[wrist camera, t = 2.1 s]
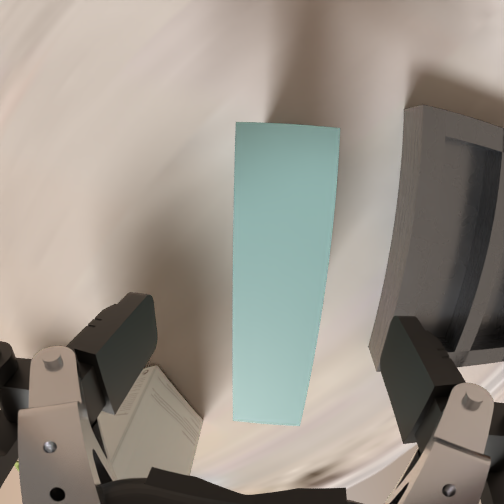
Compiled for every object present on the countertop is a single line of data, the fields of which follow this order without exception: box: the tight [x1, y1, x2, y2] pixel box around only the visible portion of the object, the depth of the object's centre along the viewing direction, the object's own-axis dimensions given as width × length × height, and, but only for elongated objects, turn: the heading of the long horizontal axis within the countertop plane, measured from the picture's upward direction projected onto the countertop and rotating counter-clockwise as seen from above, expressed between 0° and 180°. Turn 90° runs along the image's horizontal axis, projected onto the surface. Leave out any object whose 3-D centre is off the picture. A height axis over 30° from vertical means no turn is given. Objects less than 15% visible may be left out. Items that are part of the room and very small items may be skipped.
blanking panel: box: [233, 122, 340, 426], centre depth 15 cm, size 12×3×10 cm, turn 178°
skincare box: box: [98, 365, 203, 480], centre depth 19 cm, size 8×6×15 cm
